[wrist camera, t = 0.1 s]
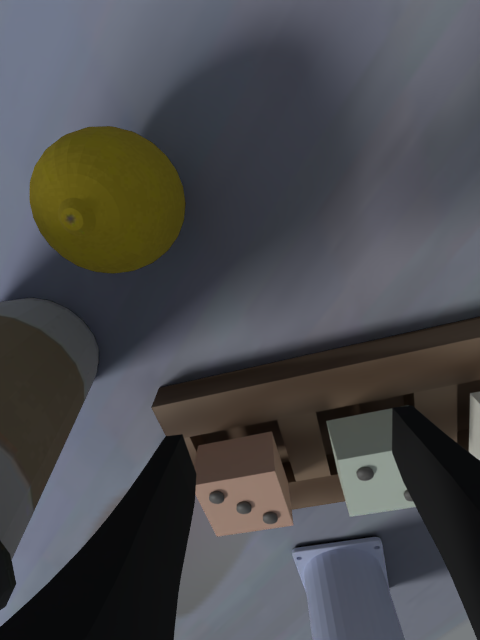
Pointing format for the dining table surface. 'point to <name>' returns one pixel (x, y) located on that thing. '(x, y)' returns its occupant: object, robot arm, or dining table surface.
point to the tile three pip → (243, 485)
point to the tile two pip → (368, 463)
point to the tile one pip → (474, 425)
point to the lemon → (107, 199)
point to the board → (329, 399)
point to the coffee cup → (36, 408)
